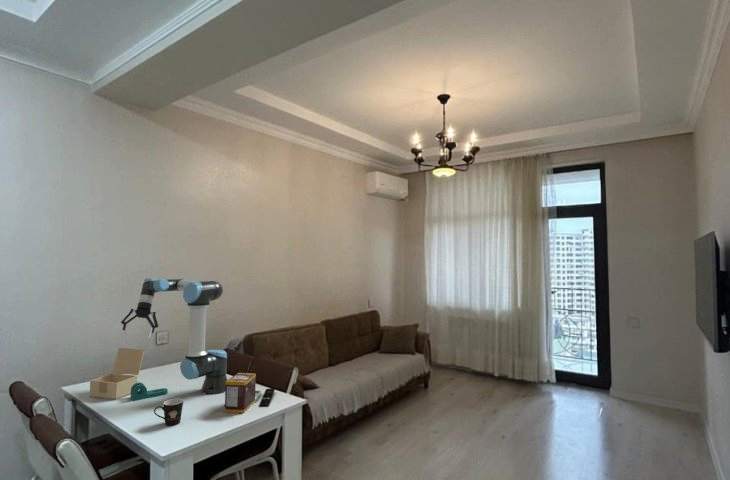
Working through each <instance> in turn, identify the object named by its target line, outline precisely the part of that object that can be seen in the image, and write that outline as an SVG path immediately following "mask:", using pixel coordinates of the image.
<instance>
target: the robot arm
mask: <svg viewBox="0 0 730 480" xmlns="http://www.w3.org/2000/svg"><path fill="white" fill-rule="evenodd" d="M143 280H144V281H143V283H142V286H141V292H140V296H139V299H138V303H137V306H136V307H137V308H136V309H134V308H131V309H130V310H129V313H128V314H127V315H126V316H125V317H124V318H123V319H122V320H121V322H120V324H122V325H123V326H122V331H123V334H122V337H125V336H126V333H127V329H128V326H129V325H128V324H129V323H130V322H132V321H133V320H134V319H135V318H140V319H141V318H142V319H146V320H147V322H148V324H149V326H150V330H149V333H148V338H147V339H148V340H151V337H152V335H153V334H154V332H155V329H157V328H159V324H158V320H157V317H156V311H151V309H152V306H153V300H154V297H155V293H161V292H182V296H183V297H182V298H183V299H184V303H187V307H188V308H189V333H188V351H187V353H185V358H184V359H182V361H181V362H180V365H179V368H180V373H181V374H182V376H183V377H184V378H185V379H187V380H194V379H195V380H196V379H199V378H202V377H204V381H203V382H202V383H203V384H202V385H201V392H202V393H203V394H207V395H211V394H212V395H213V394H214V395H215V394H220V393H221V394H222V393H225V385H226V381H227V380H228V376H227V366H228V365H227V364H228V353H227V352H226V351H225V350H224V349H222V350H221V349H208V350H206V334H207V333H206V332H207V310H208V307H209V306H210V305H211V304H210V302H212V301H216V300H219V298H220V297H221V296H222V295H223V292H224V291H223V290H224V289H223V288H224V286H222V284H221V283H220V282H218V281H216V280H204V281H197V280H195V281H194V280H188V279H186V278H177V279H176V278H174V279H173V278H172V279H165V278H158V279H156V278H152V277H149V278H148V277H147V278H145V279H143ZM133 313H134V314H135V315H134V316H132V317H130V316H131V315H132V314H133ZM150 315H151V316H152V319H153V321H152V319H151V317H150ZM129 317H130V318H129ZM128 318H129V319H128ZM127 319H128V320H127Z"/></svg>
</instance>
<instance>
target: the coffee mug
mask: <svg viewBox="0 0 730 480" xmlns="http://www.w3.org/2000/svg"><path fill="white" fill-rule="evenodd" d="M183 407H184V398H183V399H182V398H170V399H167V400H165V401H163V406H162V405H161V406H160V405H159V406H156V407H155V408H154V410H153V414H154V415H155V416H157V417H158V418H159V419H160V418H161V419H163V420H164V425H165V426H166V427H174V426H178V425H179V424H181V419H182V413H183ZM157 409H162V411H163V415H164V416H161V415H159V414H158V413H156V411H157Z"/></svg>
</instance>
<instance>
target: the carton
mask: <svg viewBox="0 0 730 480" xmlns="http://www.w3.org/2000/svg"><path fill="white" fill-rule="evenodd" d="M89 381H90V382H89V397H90V398H95V397H96V398H97V399H104V400H105V399H106V400H112V401H114V400H115V401H118V400H120V399H122V398H124V397H127V396H129V395H130V396H131V387H132V386H133V385H134V384H135V383H138V375H132V374H122V373H113V372H112V373H109V374H105V375H103V376H99V377H97V378H94V379H90V380H89Z"/></svg>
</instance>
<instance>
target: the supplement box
mask: <svg viewBox="0 0 730 480" xmlns="http://www.w3.org/2000/svg"><path fill="white" fill-rule="evenodd" d="M256 375H257V373H251V372H250V373H249V372H248V373H246V372H245V373H244V372H238V373H236V374H235V375H233V376H232V377H230V378H228V379H227V381H226V385H225V392H224V413H232V414H233V413H237V414H244V413H246V412H245V411H248V410H249V409H250V408H251V407H252V406H253V405H254V404H255V403H256V385H257V384H256V383H257V379H256V378H257V376H256ZM254 402H255V403H254ZM253 403H254V404H253ZM252 404H253V405H252ZM251 405H252V406H251ZM250 406H251V407H250Z"/></svg>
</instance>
